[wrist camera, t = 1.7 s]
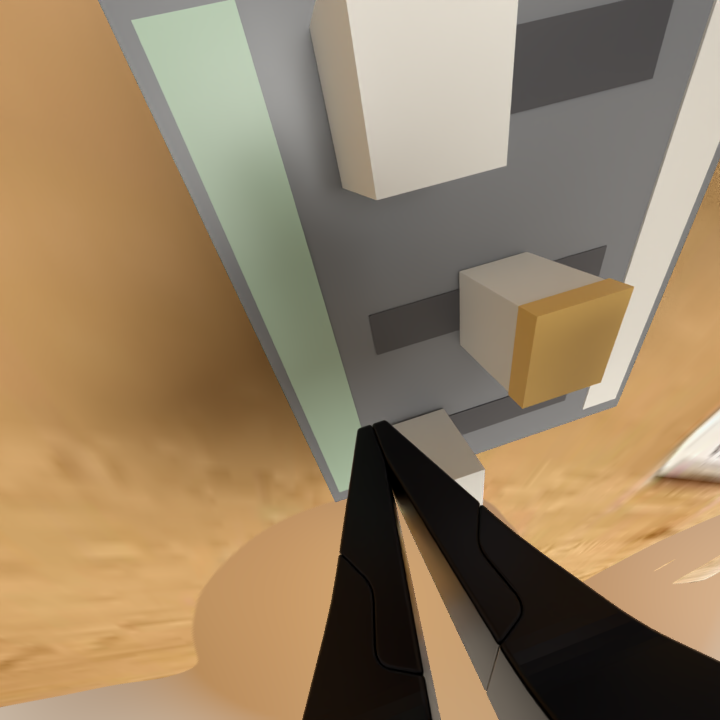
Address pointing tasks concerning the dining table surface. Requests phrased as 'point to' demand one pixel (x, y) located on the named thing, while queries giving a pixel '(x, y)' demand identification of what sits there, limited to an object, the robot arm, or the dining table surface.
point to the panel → (431, 200)
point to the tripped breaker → (540, 324)
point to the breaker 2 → (446, 449)
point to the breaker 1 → (415, 89)
